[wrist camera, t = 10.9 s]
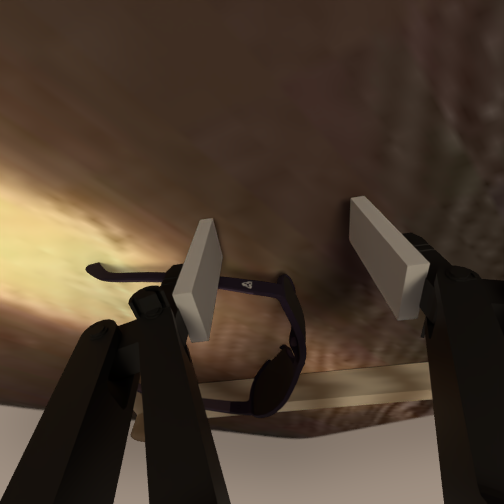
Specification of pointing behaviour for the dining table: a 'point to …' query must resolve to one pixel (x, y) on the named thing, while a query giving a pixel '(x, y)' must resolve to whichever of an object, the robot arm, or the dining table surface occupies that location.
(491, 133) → the dining table surface
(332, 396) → the beige long bar
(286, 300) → the sunglasses
